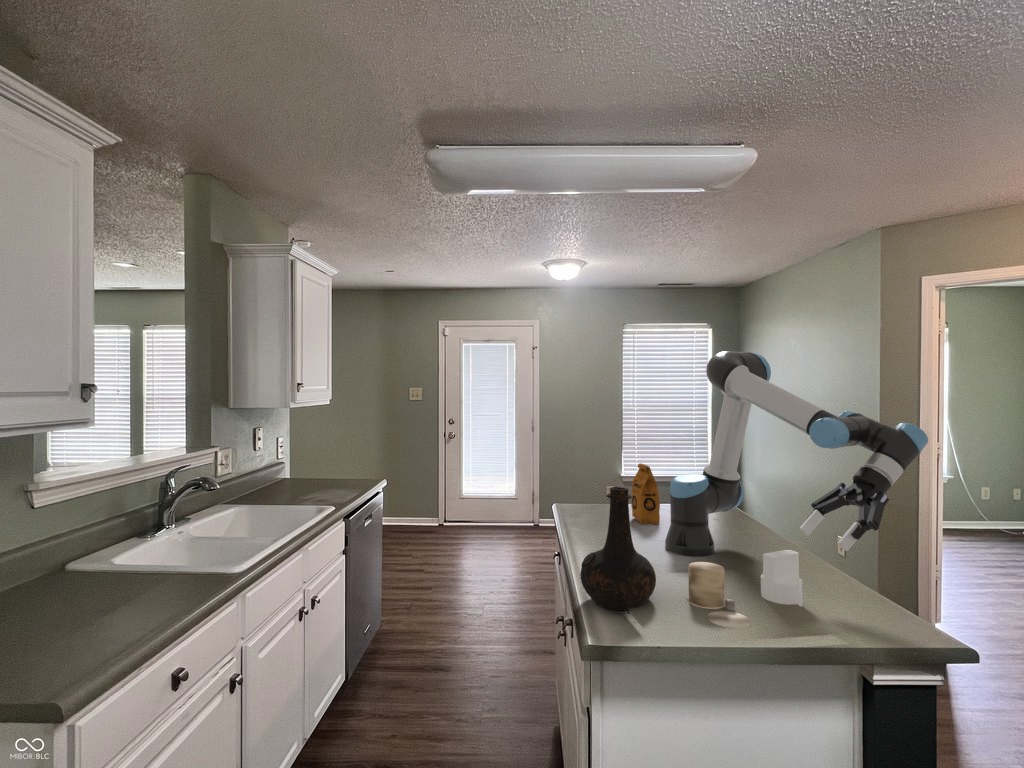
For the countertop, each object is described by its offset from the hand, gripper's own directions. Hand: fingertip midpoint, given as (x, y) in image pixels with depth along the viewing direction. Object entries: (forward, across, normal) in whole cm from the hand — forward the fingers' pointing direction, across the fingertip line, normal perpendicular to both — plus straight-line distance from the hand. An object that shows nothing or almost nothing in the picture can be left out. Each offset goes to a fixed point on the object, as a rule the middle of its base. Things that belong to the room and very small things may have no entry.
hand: (821, 539), depth 133 cm
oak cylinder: (+31, 0, +12) cm, 33 cm away
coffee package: (+20, +83, -2) cm, 85 cm away
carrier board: (+29, -5, +8) cm, 31 cm away
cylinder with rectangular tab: (+18, 0, -3) cm, 19 cm away
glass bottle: (+46, +6, +24) cm, 52 cm away
